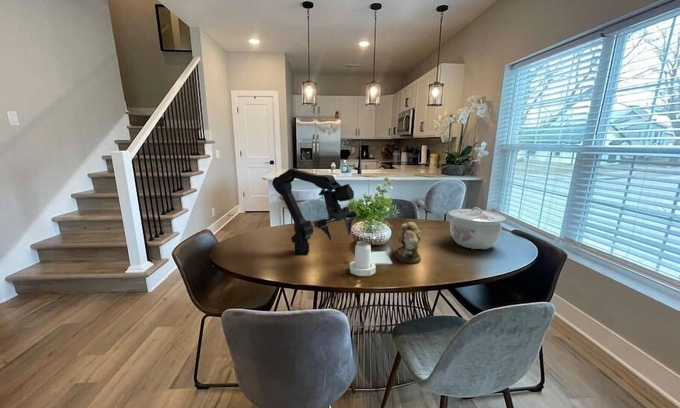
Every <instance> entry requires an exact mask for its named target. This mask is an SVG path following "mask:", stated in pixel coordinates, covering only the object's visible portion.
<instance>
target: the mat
mask: <svg viewBox="0 0 680 408" xmlns="http://www.w3.org/2000/svg"><path fill="white" fill-rule="evenodd" d="M371 262H373V263H374V264H375V266H376V265H379V266H380V265H393V261H392V260H391V258H390V256H389V254H388V253H387V251H371Z"/></svg>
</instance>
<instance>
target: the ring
mask: <svg viewBox="0 0 680 408" xmlns="http://www.w3.org/2000/svg"><path fill="white" fill-rule="evenodd" d="M376 268H377V266H376V265H375V264H374V263H373V262H370V268H369V269H358V268H356V267H355V260H354V261H351V262H349V272H350V274H352V275H356V276H357V277H358V276H359V277H369V276H370V277H371V276H372V275H374V274H376V271H377V269H376Z"/></svg>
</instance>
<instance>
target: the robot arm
mask: <svg viewBox="0 0 680 408" xmlns="http://www.w3.org/2000/svg"><path fill="white" fill-rule="evenodd" d="M295 179H297V180H301V181H304V182H308V183H312V184H313V185H315V186H316V187H318V188H320V189H321V190H320V192H319V193H318V196H319V197H320V196H323V199H324V204H325V210H326V212H327V218H320V219H316V220H314V221H313V225H314V226H313V225H312V221H311V220H310V219H309V220H306V219H305V218H304V216H303V214H302V211H301V210H300V207H299V205H298V203H297V201H296V198H295V197H294V195H293V192H292V188H293V185H292V182H293V181H295ZM271 183H272V184H271V185H272V186H273V189H274V190H275V191H276V193H278V194H279V196H281V197H282V199H283V201H284V203H285V206H286V208H287V210H288V212H289V214H290V216H291V219H292V221H293V223H294V224H293V225H294V227H293V228H294V229H293V230H294V234H293V236H291V237H290V239H291V242H292V243H294V253H293V255H295V256H298V255H299V256H302V255H303V256H304V255H305V256H307V255H308V254H309V253H310V242H309V240H310V239H311V237H312V236H313V233H314V228H318V229H321V230H322V232H323V233H324V234H325V235H326V237H327V239H328V240H329V241H332V237H331V234H330V229H329V225H327V224H330V223H333V222H340V221H342V220H344V223H345V224H344V225H345V227H346V229H345V230H346V232H347V235H349V236H350V235H351V229H352V223H353V221H354V220H355V219H356V218H357V217H358V214H357V211H355V210H350V208H349V206H345V207H343V208H342V206H341V204H339V202H346V201H352V200H354V197H355V193H354V190H353V188H352V187H351V186H350V183H347V184H346V183H345V184H344V185H341V184H340V183H339V182H338V180H336V178H335V176H334V175H332V174H317V173H313V172H310V171H305V170H301V169H297V168H296V167H295V168H288V169H287V170H286V171H284V172H283V173H282V174H280V175H278V176H276V177H273V179H272V182H271Z"/></svg>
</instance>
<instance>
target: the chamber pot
mask: <svg viewBox="0 0 680 408" xmlns="http://www.w3.org/2000/svg"><path fill="white" fill-rule="evenodd" d="M447 214H448V215H449V216H451V217H452V218H451V220H450V222H449V228H450V234H451V237H452V238H453V240H454V242H455V243H456V244H457V245H459V246H461V247H464V248H465V247H466V248H465V249H469V248H471V249H470V250H475V249H482V250H488V249H491V248H492V247H493V246H495V245H496V243H497V242H498V241H499V239H500V238H501V237H500V236H501V234H502V230H503V227H502V224H501V222H504V221H507V218H506V216H504V215H502V214H501V213H498V212H495V211H494V212H493V211H490V210H485V209H481V208H479V207H477V206H475V207H472V208H457V209H452V210H449V211H448V212H447Z"/></svg>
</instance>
